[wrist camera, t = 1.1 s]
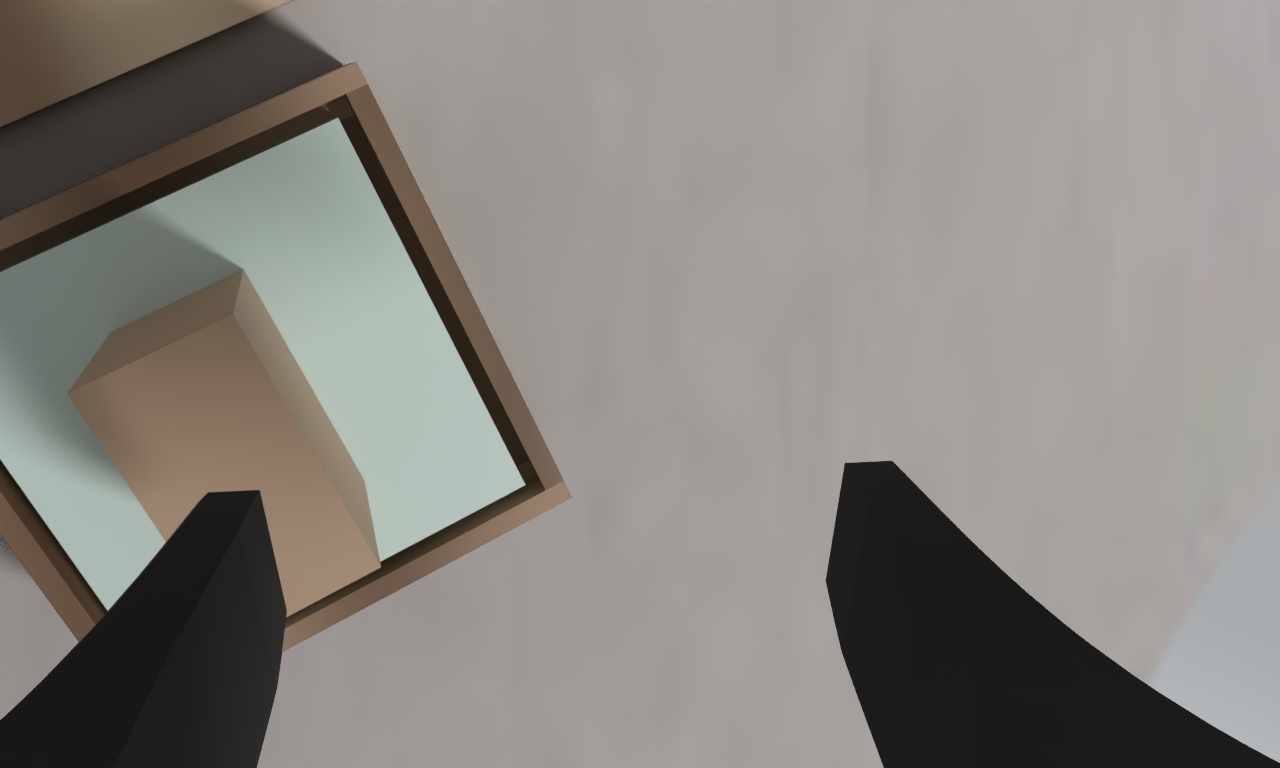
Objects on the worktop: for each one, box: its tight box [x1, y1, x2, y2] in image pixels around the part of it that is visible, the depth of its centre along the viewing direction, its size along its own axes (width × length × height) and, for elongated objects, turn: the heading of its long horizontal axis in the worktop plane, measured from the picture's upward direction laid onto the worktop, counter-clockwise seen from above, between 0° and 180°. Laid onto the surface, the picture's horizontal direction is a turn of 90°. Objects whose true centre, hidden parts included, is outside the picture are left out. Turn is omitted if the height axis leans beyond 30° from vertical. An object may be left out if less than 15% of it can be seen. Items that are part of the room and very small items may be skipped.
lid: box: [0, 117, 525, 617], centre depth 18 cm, size 8×8×5 cm
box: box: [0, 62, 572, 652], centre depth 22 cm, size 9×9×4 cm
